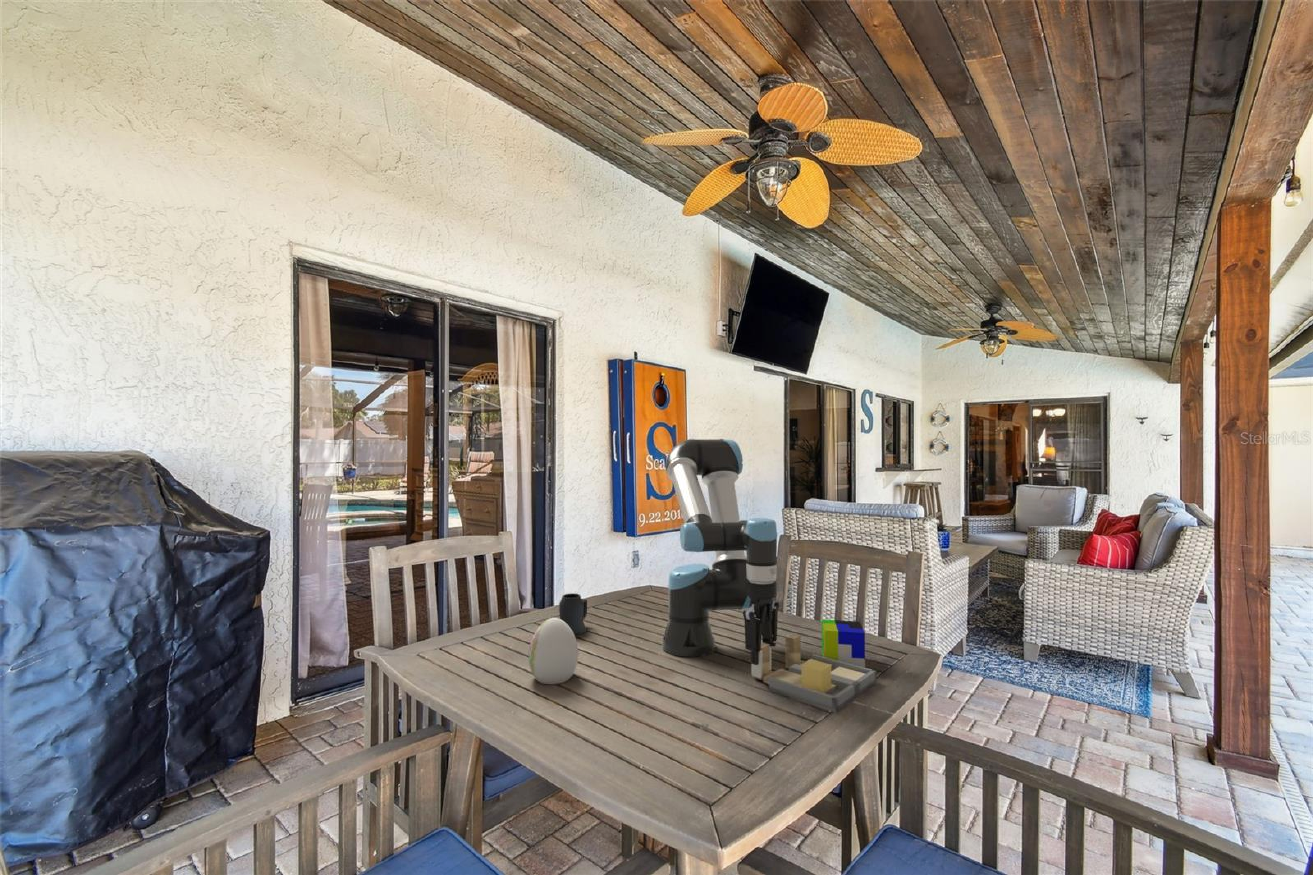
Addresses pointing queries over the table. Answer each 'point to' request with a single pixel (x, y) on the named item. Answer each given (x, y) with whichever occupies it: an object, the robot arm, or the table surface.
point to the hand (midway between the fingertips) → (761, 673)
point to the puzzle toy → (843, 641)
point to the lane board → (843, 675)
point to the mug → (573, 612)
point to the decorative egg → (553, 652)
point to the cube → (816, 675)
